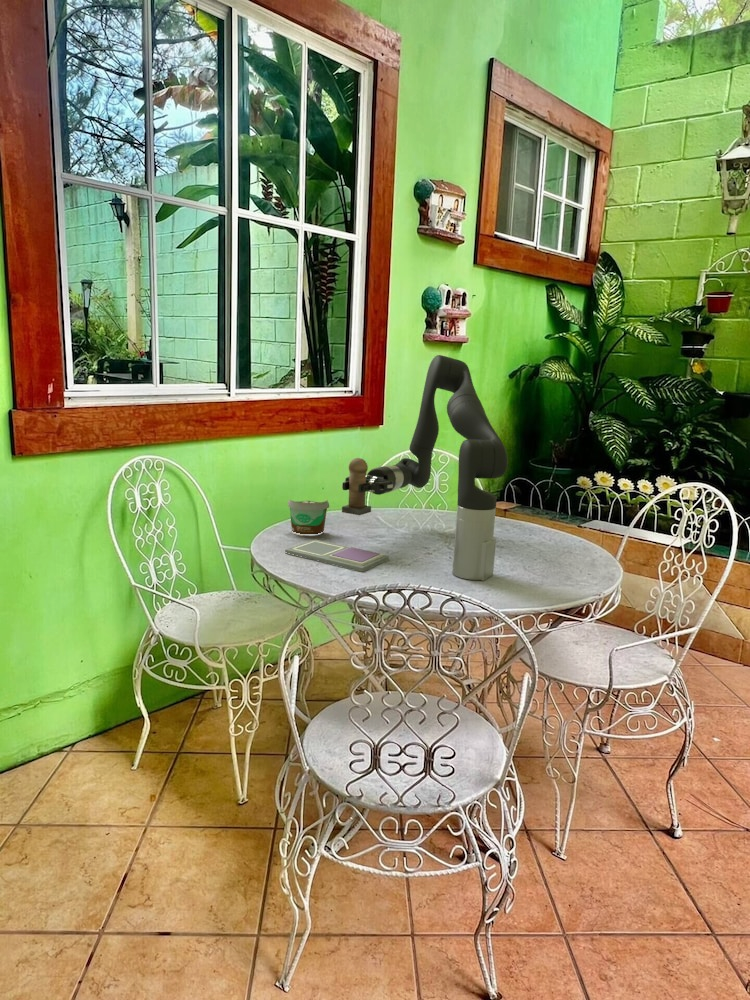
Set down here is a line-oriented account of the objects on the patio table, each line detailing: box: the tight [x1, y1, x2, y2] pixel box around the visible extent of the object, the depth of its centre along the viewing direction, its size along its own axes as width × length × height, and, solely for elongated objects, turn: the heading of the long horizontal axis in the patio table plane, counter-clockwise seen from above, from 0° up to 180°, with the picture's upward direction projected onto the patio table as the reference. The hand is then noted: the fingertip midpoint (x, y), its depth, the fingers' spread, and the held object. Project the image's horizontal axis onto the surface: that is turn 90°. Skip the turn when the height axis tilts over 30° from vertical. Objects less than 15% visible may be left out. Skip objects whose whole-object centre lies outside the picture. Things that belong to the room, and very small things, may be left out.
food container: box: [286, 498, 330, 534], centre depth 187 cm, size 12×6×10 cm, turn 92°
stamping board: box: [284, 539, 390, 572], centre depth 168 cm, size 24×13×2 cm, turn 58°
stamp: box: [341, 457, 372, 516], centre depth 170 cm, size 6×6×14 cm
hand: (351, 487), depth 168 cm, fingers closed on stamp, 4 cm apart
